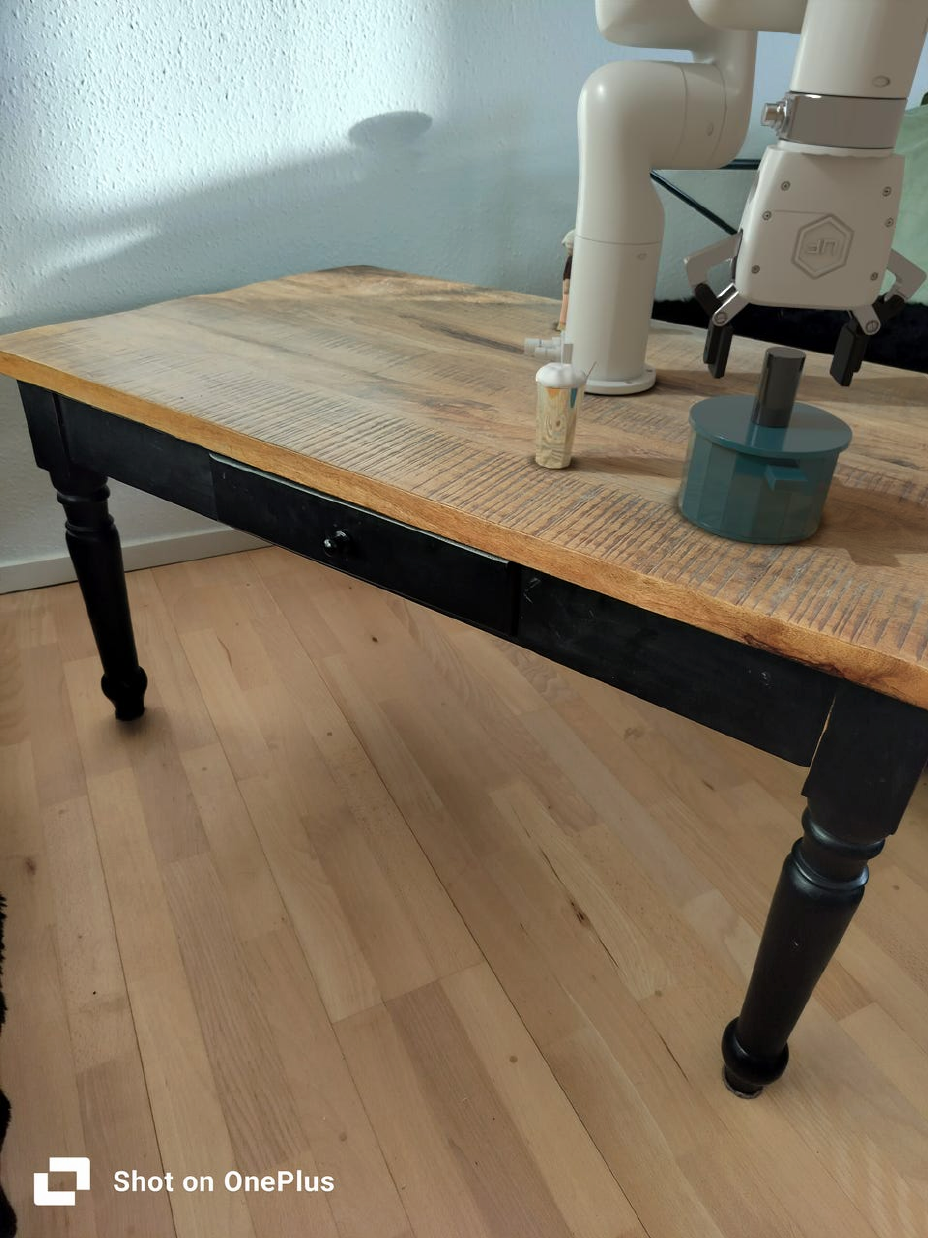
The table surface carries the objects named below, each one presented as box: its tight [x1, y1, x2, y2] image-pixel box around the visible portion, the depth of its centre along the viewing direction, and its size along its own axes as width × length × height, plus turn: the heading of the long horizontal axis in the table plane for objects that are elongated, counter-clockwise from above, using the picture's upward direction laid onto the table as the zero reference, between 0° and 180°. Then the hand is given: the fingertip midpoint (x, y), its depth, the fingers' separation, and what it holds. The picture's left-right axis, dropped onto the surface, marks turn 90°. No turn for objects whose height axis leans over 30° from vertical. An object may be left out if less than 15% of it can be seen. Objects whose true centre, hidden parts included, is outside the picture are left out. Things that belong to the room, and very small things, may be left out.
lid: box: [688, 346, 854, 459], centre depth 68 cm, size 13×13×7 cm
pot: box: [677, 426, 841, 545], centre depth 72 cm, size 12×17×8 cm
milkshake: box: [535, 362, 596, 470], centre depth 78 cm, size 4×5×10 cm
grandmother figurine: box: [556, 228, 575, 332], centre depth 117 cm, size 8×4×13 cm, turn 179°
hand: (776, 376), depth 68 cm, fingers open, 9 cm apart
